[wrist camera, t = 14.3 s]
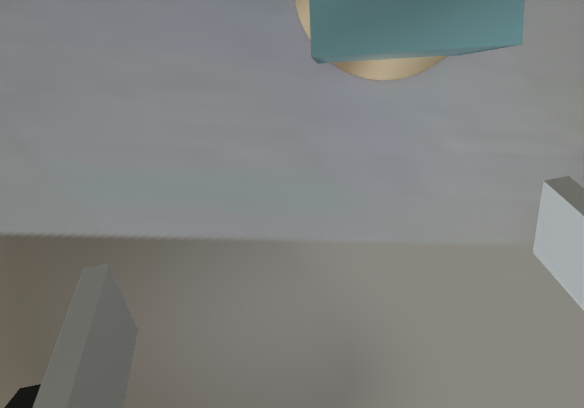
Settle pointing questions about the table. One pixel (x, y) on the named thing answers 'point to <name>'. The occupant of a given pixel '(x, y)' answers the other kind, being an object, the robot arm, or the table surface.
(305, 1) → the coaster
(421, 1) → the teal cube
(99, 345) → the robot arm
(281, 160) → the table surface
